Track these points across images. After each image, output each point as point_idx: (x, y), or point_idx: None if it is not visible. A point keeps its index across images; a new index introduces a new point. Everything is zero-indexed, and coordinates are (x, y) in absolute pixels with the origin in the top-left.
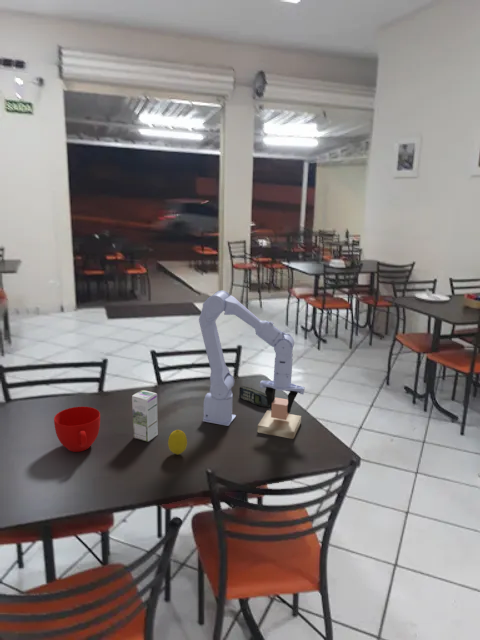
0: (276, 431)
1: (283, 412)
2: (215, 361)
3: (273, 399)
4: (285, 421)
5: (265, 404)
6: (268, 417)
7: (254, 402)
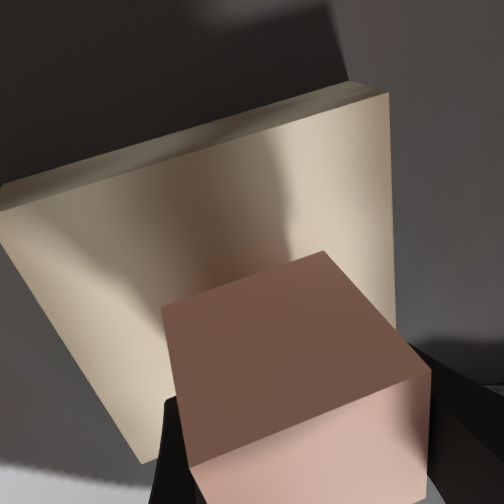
0: (184, 143)
1: (209, 354)
2: None
3: (436, 452)
4: None
5: None
6: None
7: None
